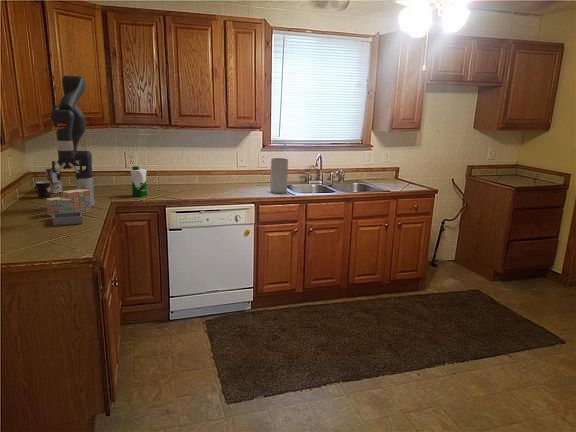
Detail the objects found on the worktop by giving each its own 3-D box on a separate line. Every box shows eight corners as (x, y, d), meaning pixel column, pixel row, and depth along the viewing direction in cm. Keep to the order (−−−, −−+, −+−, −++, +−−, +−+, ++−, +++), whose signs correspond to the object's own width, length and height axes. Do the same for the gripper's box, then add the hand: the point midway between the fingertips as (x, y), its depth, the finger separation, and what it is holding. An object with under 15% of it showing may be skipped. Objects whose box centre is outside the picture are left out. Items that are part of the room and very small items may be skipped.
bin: (53, 221, 223) (53, 213, 222) (82, 219, 229) (81, 211, 228) (53, 226, 214) (52, 218, 213) (82, 223, 220) (81, 216, 219)
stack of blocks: (52, 217, 232) (50, 194, 229) (47, 215, 236) (45, 193, 233) (91, 211, 248) (89, 190, 245) (86, 209, 252) (84, 188, 249)
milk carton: (138, 194, 298) (137, 165, 293) (149, 195, 295) (148, 166, 291) (130, 196, 290) (128, 167, 285) (141, 197, 287) (139, 168, 282)
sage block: (63, 217, 232) (61, 199, 230) (72, 216, 234) (71, 198, 232) (63, 219, 228) (61, 200, 225) (72, 218, 230) (71, 200, 227)
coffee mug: (47, 195, 283) (45, 180, 281) (54, 197, 279) (53, 182, 277) (29, 198, 273) (27, 182, 271) (36, 200, 269) (35, 184, 267)
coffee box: (63, 192, 295) (61, 169, 291) (53, 193, 290) (51, 170, 286) (56, 190, 300) (54, 167, 296) (47, 191, 295) (44, 168, 291)
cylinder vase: (267, 192, 321) (268, 159, 315) (274, 189, 332) (275, 157, 326) (283, 194, 317) (284, 160, 310) (289, 191, 328) (290, 158, 322)
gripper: (80, 148, 227) (83, 178, 231) (50, 148, 221) (53, 179, 225) (81, 150, 221) (83, 180, 225) (49, 150, 214) (53, 182, 218)
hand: (68, 180), depth 225 cm, fingers open, 8 cm apart
